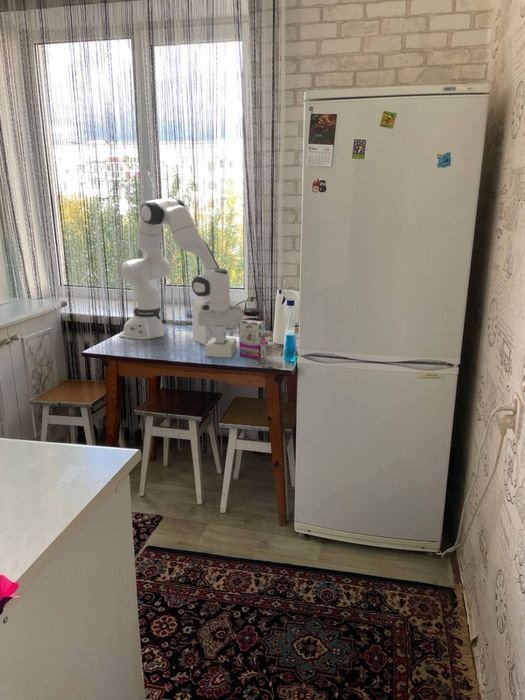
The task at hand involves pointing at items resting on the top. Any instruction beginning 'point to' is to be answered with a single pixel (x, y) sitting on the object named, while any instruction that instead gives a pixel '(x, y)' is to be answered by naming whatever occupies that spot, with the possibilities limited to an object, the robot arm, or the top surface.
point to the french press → (252, 311)
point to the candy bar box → (252, 339)
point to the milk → (200, 331)
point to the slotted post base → (221, 348)
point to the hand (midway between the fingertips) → (221, 335)
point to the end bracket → (221, 335)
